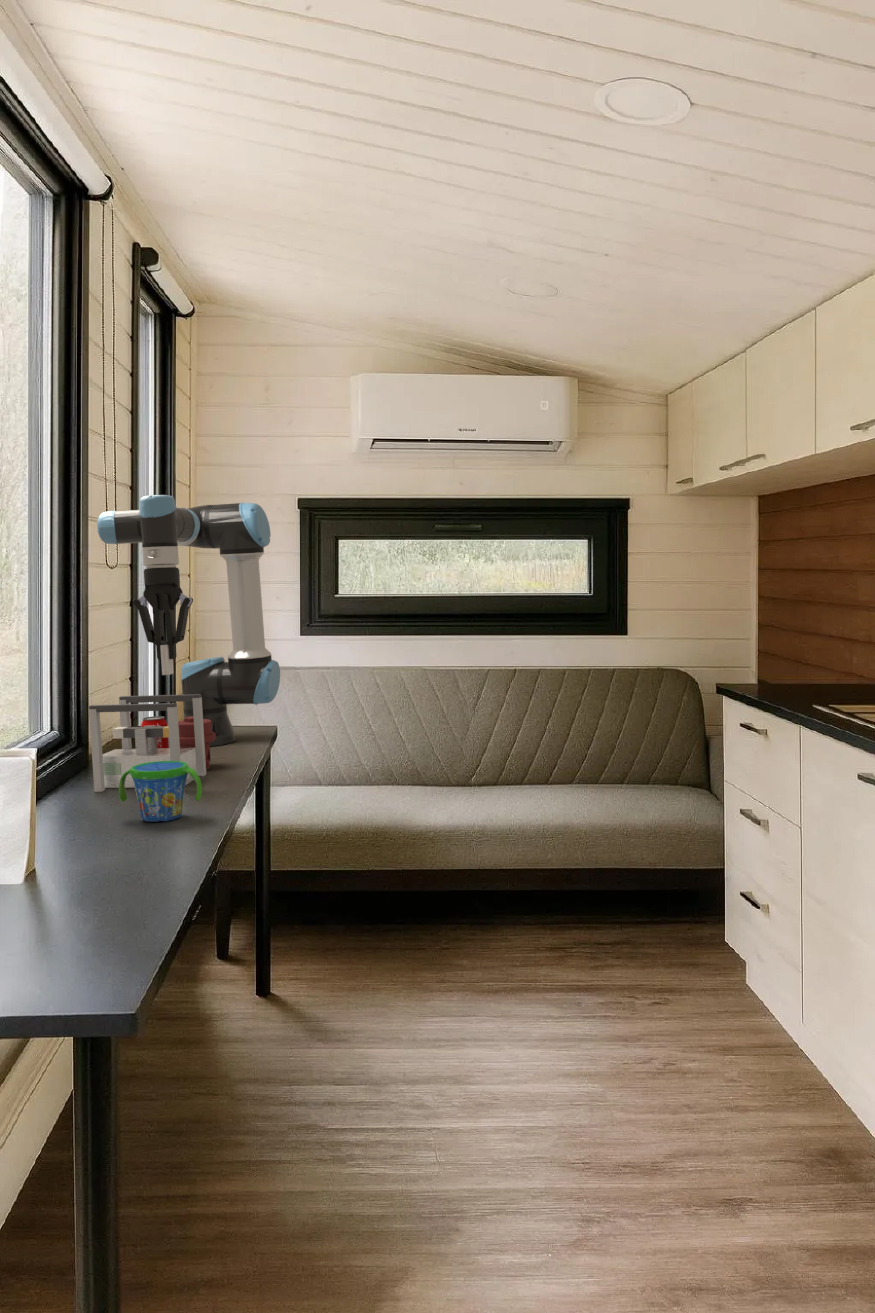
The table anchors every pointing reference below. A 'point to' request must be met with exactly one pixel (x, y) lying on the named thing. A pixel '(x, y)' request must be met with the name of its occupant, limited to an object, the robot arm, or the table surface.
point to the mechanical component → (189, 736)
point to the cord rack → (125, 722)
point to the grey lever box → (140, 759)
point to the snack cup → (160, 788)
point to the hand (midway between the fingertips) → (167, 674)
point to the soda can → (158, 722)
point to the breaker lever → (130, 731)
